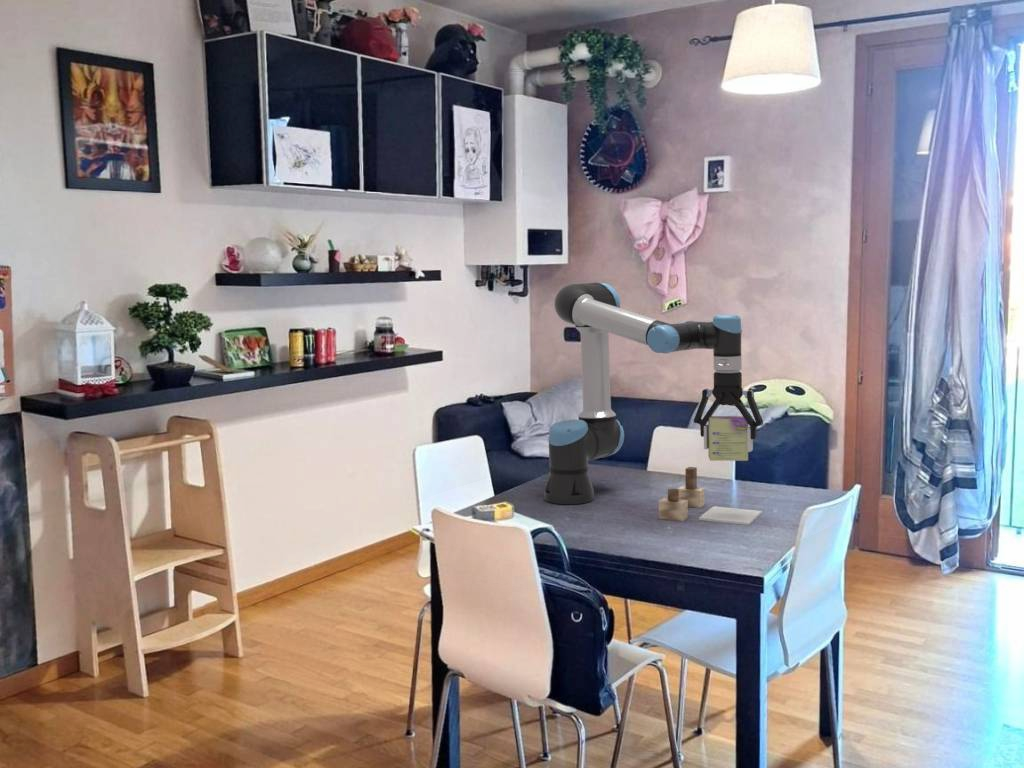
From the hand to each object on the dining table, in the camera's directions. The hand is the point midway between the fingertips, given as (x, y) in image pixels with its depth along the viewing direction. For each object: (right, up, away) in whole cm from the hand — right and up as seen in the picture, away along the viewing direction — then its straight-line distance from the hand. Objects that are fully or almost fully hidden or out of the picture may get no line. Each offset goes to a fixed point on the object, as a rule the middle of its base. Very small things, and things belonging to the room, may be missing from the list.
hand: (728, 449), depth 274 cm
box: (0, -3, 0) cm, 3 cm away
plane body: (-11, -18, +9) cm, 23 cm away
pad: (+1, -19, +2) cm, 19 cm away
